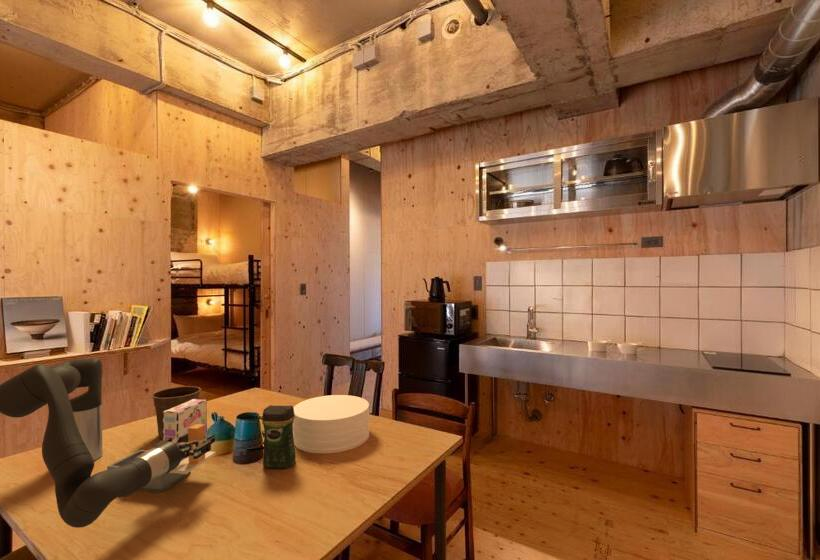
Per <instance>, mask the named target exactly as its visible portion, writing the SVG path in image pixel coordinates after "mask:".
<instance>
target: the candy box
mask: <svg viewBox="0 0 820 560" xmlns="http://www.w3.org/2000/svg"><path fill="white" fill-rule="evenodd" d="M207 406H208V405H207V399H200V398H199V399H192V400H190V401H188V402H185V403H183V404H181V405H178V406H176V407H173V408H171V409H168V410H166V411H163V439H162V441H163V440H165V439H167V438H172V439H174V438H176V437H181V436H182V435H184V434H186V433H188V428H189V427H191V426H193V425H195V424H202V425H205V434H206V432H207V433H208V414H207V413H208V412H207V409H208V408H207ZM186 443H187V442H186Z"/></svg>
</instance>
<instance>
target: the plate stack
mask: <svg viewBox="0 0 820 560" xmlns="http://www.w3.org/2000/svg"><path fill="white" fill-rule="evenodd" d="M293 408H294V414H295V418H294V421H293V438H294V445H295V446H296V447H295V448H297V449H298V450H300V451H302V450H303V451H302V452H307V453H310V454H311V453H312V454H335V453H341V452H345V451H349V450H352V449H355V448H357V447H359V446H362V444H365V443H366V441H368V439H369V438H370V403H369V401H367V400H366V399H364V398H362V397H361V396H360V397H359V396H355V395H348V394H331V395H322V396H316V397H312V398H308V399H306V400H303V401H301V402H298V403H297V404H296V405H294V406H293Z"/></svg>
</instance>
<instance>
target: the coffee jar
mask: <svg viewBox="0 0 820 560" xmlns="http://www.w3.org/2000/svg"><path fill="white" fill-rule="evenodd" d="M294 418H295V414H294V406H293V405H268V406H267V407H265V408H264V409H263V411H262V418H261V422H262V426H263V430H264V435H265V436H264V448H263V455H262V457H263V458H262V465H263V468H266V469H286V468H288V467H290V466H292V465H293V464H294V462H295V461H296V447H295V446H294V438H293V421H294Z"/></svg>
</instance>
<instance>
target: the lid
mask: <svg viewBox="0 0 820 560" xmlns="http://www.w3.org/2000/svg"><path fill="white" fill-rule="evenodd" d="M204 439H205V425H202V424H195V425H193V426H191V427H189V428H188V442H190V441H194V440H197V441H200V440H204ZM201 444H202V443H201ZM201 444H199V445H198V446H200V445H201ZM193 449H194V444H192V450H193ZM215 456H216V451H209V452H207V453H205V454H204V455H202V456H201V457H199V458H197V459H193V456H189V457H186V458H184V459H182V461H181V462H180V464H179V465H178V467H176V468H175V469H174V470H172V471H170V472H169V473H179V474H187V473H189V472H190V471H193V470H195V469H196V468H198V467H200V466H201V465H202V464H204V463H205V462H207V461H209V460H210V459H212V458H213V457H215Z"/></svg>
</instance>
